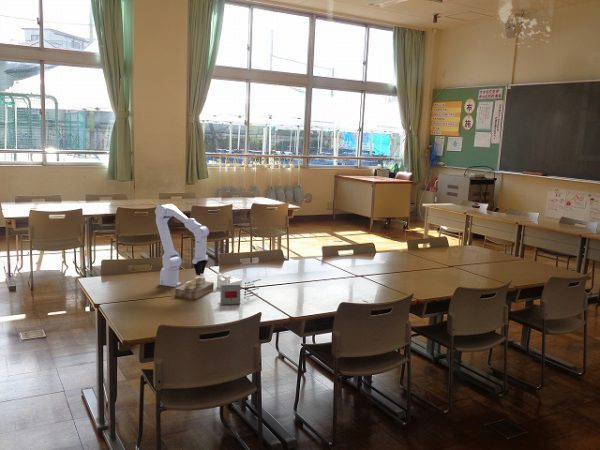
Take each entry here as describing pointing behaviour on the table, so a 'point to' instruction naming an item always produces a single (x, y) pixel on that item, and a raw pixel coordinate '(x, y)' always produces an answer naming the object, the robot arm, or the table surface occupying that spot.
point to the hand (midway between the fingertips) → (199, 274)
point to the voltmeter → (232, 293)
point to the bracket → (227, 280)
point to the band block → (194, 290)
